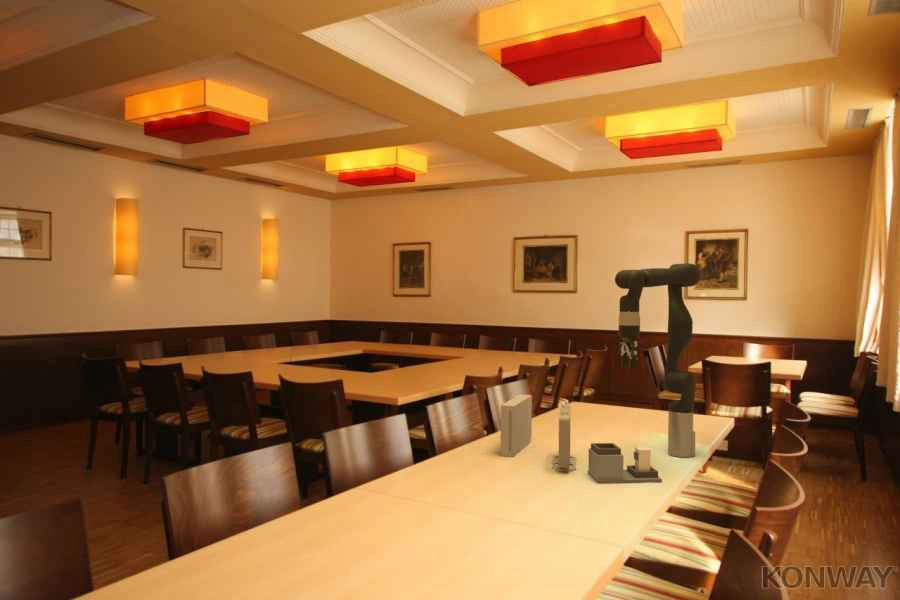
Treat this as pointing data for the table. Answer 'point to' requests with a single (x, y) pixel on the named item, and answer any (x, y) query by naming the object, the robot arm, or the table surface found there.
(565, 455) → the network device
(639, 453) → the plug
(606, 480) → the grey stepped block
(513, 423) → the game console
